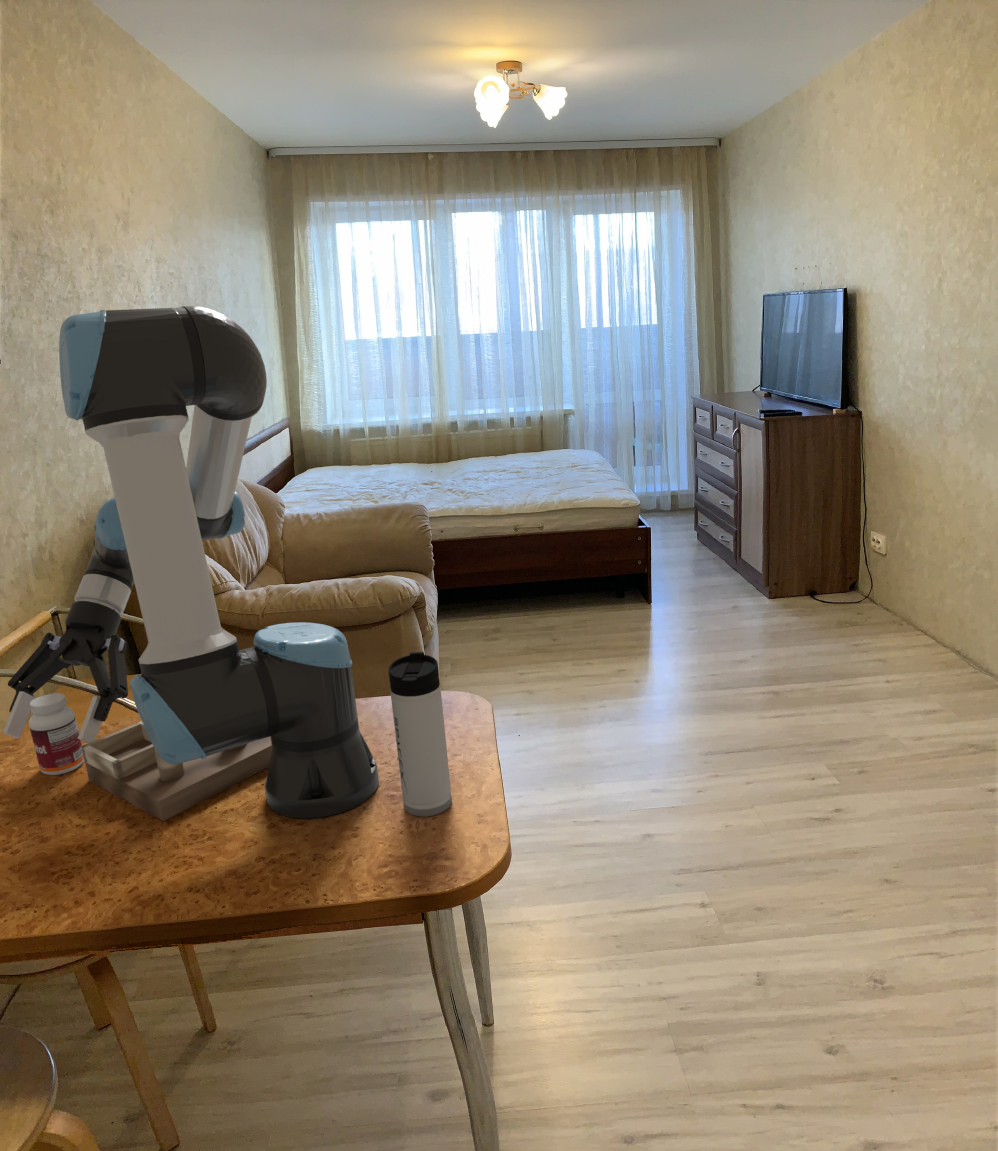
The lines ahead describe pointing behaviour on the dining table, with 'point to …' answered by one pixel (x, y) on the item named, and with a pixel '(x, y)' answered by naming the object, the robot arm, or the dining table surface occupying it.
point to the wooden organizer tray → (167, 771)
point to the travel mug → (420, 734)
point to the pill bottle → (55, 735)
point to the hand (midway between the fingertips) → (47, 738)
